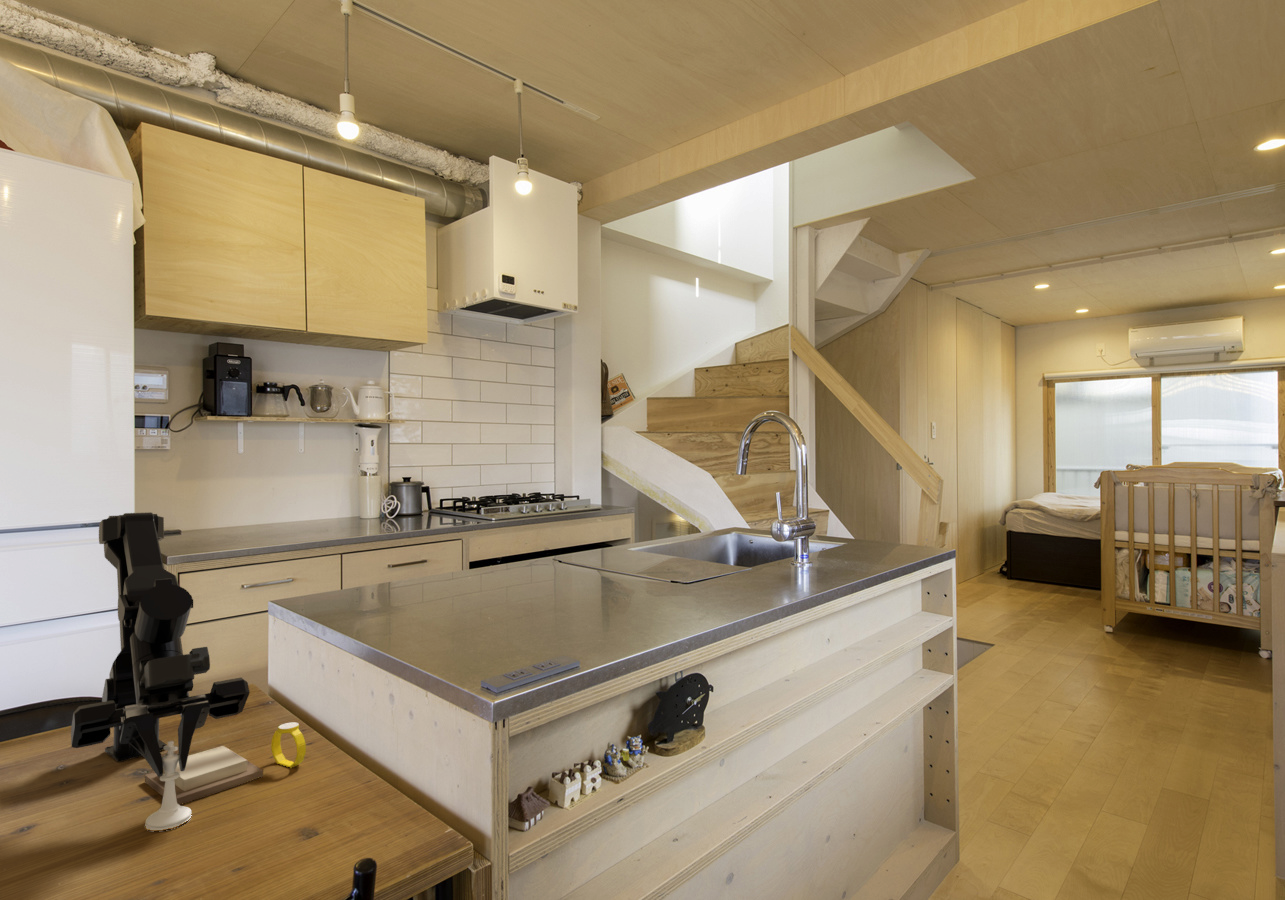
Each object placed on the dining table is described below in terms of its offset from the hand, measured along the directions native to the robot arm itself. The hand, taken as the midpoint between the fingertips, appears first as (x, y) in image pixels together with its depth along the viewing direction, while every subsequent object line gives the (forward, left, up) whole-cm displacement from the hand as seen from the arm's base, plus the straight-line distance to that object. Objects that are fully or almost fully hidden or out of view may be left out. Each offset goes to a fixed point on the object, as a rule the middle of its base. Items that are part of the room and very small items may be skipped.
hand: (172, 772), depth 87 cm
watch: (-6, +18, -7) cm, 20 cm away
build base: (-10, +8, -7) cm, 14 cm away
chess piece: (-1, 0, -7) cm, 7 cm away
